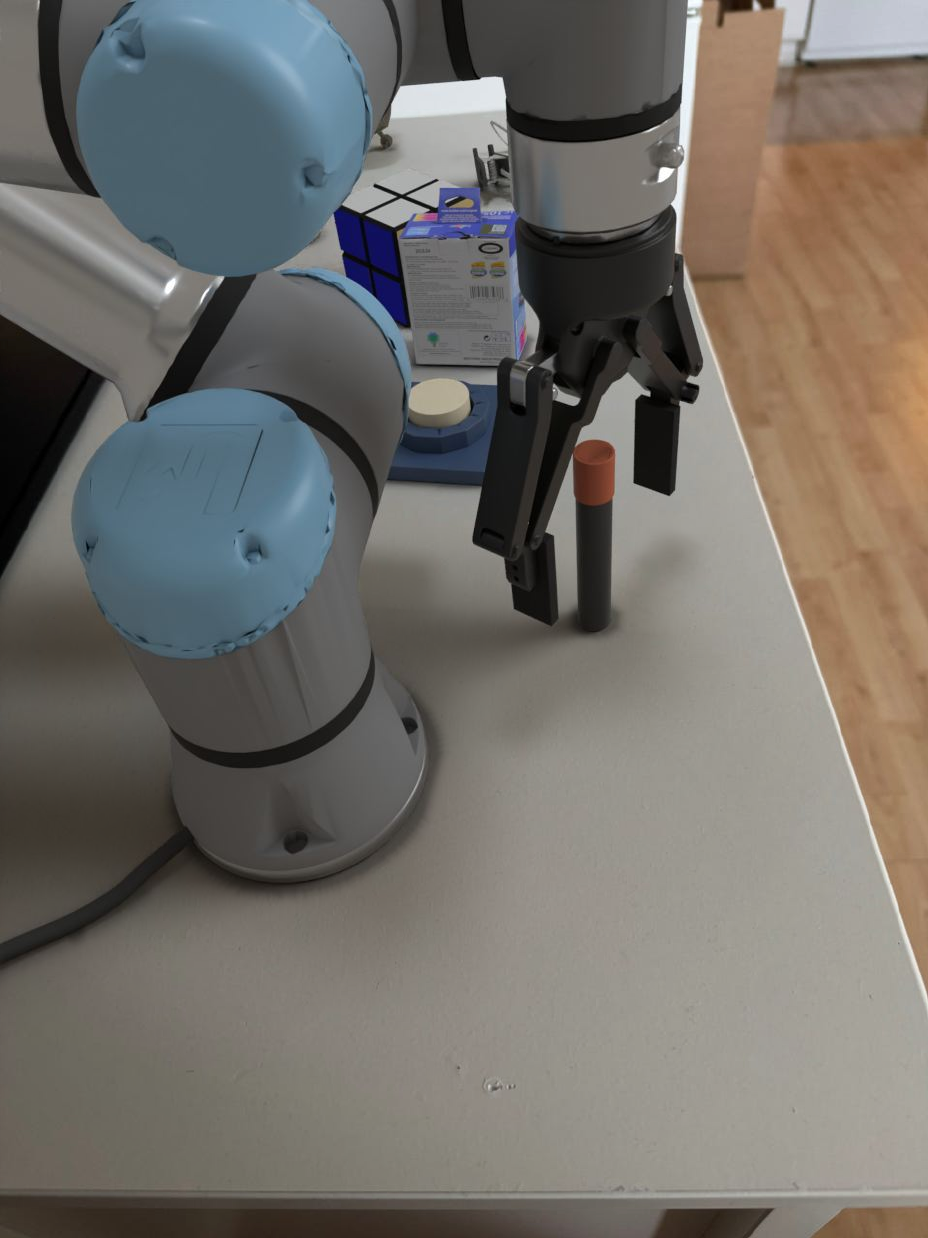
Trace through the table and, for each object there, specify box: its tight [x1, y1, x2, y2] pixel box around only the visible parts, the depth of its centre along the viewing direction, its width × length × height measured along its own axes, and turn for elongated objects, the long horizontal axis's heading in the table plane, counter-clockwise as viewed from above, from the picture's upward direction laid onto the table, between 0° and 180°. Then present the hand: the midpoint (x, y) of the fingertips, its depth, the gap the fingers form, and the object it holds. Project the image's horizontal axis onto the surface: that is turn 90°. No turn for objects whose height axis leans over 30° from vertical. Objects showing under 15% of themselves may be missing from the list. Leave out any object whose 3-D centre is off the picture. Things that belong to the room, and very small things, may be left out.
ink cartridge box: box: [398, 187, 528, 367], centre depth 84 cm, size 10×6×14 cm, turn 78°
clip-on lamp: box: [471, 120, 510, 188], centre depth 114 cm, size 12×6×18 cm
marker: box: [572, 439, 616, 632], centre depth 59 cm, size 2×2×14 cm
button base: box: [387, 380, 497, 486], centre depth 79 cm, size 12×10×3 cm
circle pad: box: [408, 377, 471, 429], centre depth 78 cm, size 5×5×2 cm
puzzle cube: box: [332, 167, 474, 328], centre depth 94 cm, size 10×10×10 cm
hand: (598, 547), depth 59 cm, fingers open, 13 cm apart
